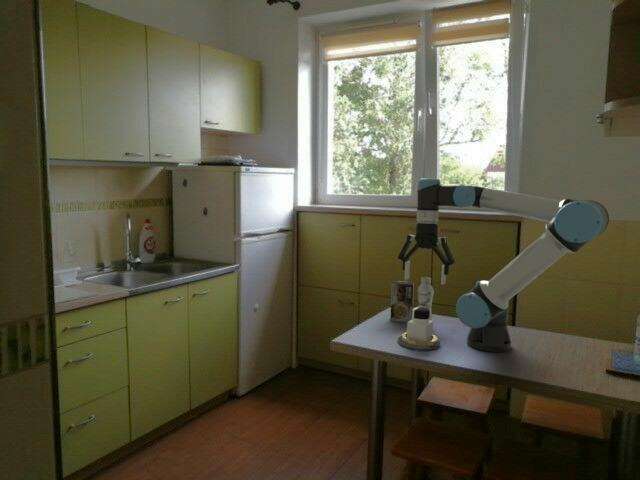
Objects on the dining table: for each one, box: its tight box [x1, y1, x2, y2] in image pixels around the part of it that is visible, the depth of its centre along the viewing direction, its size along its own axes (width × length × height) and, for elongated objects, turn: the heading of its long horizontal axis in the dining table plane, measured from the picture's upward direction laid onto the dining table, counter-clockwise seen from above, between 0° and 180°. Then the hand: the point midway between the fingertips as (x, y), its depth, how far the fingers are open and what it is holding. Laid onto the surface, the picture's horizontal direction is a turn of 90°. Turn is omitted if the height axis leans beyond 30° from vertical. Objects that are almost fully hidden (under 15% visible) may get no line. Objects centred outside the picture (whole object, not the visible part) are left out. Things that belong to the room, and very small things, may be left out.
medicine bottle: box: [406, 306, 434, 341], centre depth 176 cm, size 7×7×12 cm
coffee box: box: [389, 279, 415, 323], centre depth 205 cm, size 9×6×16 cm
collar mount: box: [397, 331, 441, 352], centre depth 177 cm, size 15×15×2 cm
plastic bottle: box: [416, 276, 435, 321], centre depth 195 cm, size 6×7×20 cm
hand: (424, 281), depth 176 cm, fingers open, 13 cm apart
